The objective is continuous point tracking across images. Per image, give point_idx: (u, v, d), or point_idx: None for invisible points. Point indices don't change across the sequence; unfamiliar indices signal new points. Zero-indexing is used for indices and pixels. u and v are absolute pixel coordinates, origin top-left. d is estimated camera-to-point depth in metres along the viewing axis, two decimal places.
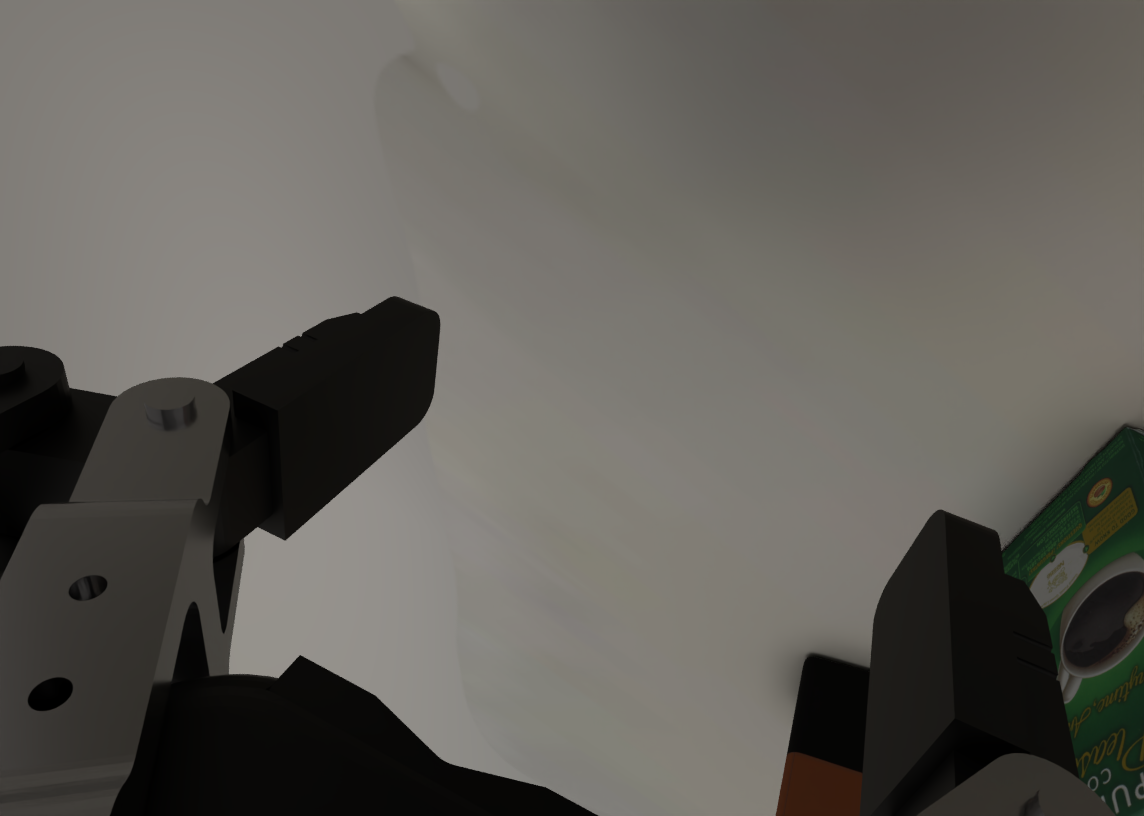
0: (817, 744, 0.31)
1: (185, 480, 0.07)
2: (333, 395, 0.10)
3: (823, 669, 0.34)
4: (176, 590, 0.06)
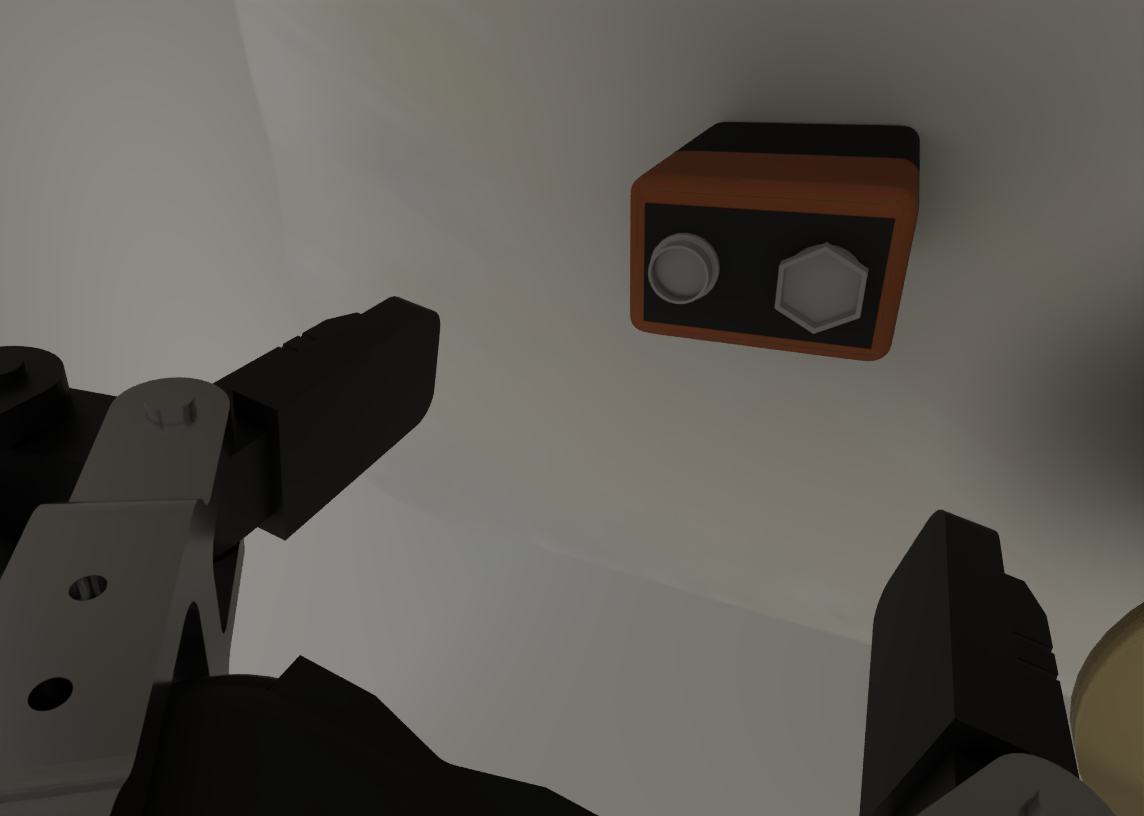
0: (709, 146, 0.21)
1: (185, 480, 0.07)
2: (333, 395, 0.10)
3: (731, 124, 0.24)
4: (174, 591, 0.06)
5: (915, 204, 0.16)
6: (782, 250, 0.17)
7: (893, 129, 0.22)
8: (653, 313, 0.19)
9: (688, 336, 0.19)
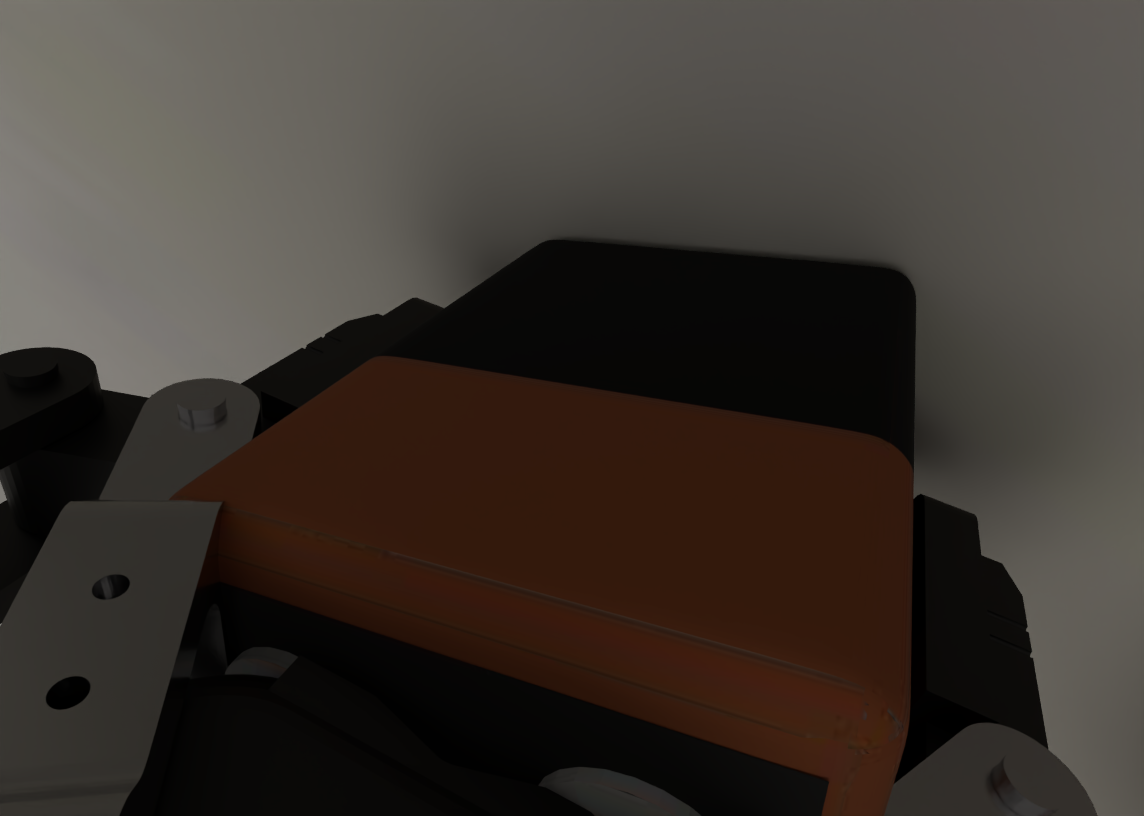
0: (455, 341, 0.09)
1: None
2: None
3: (562, 249, 0.13)
4: (196, 592, 0.06)
5: (895, 738, 0.05)
6: (516, 752, 0.06)
7: (862, 282, 0.11)
8: None
9: None
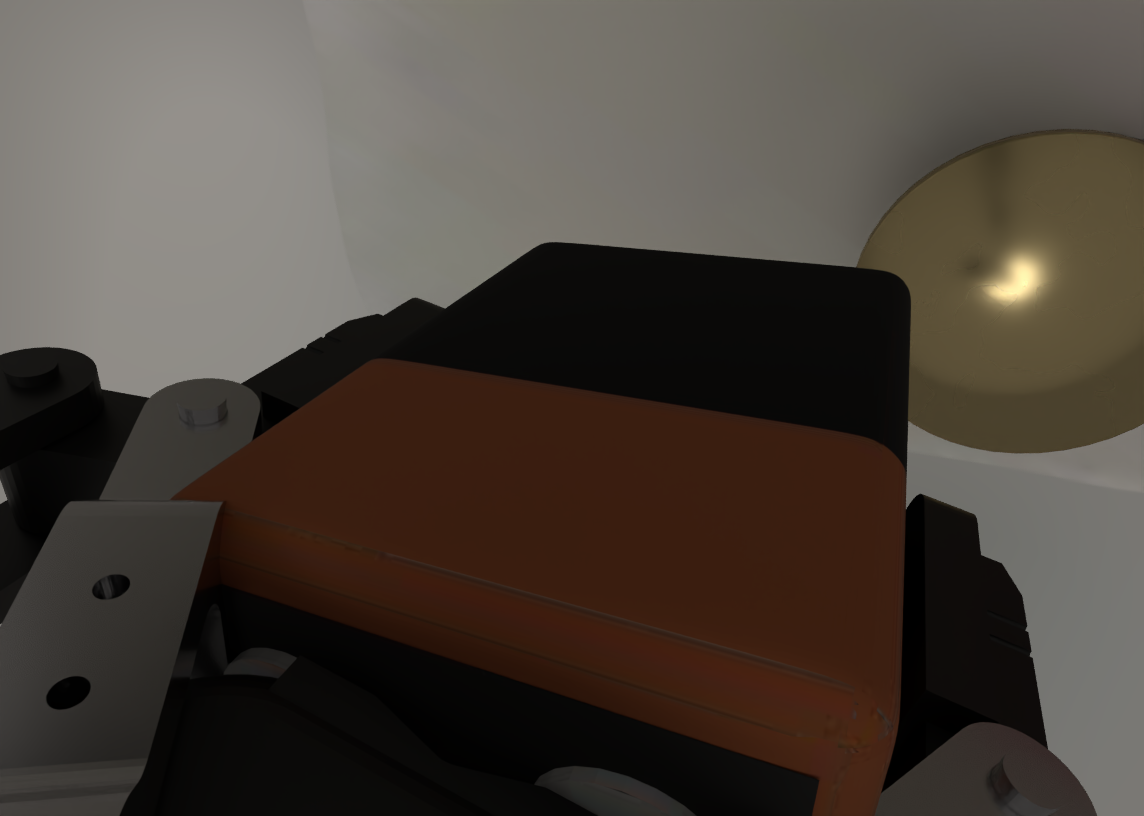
0: (453, 343, 0.10)
1: None
2: None
3: (560, 251, 0.13)
4: (195, 593, 0.06)
5: (886, 737, 0.05)
6: (513, 751, 0.06)
7: (857, 285, 0.11)
8: None
9: None
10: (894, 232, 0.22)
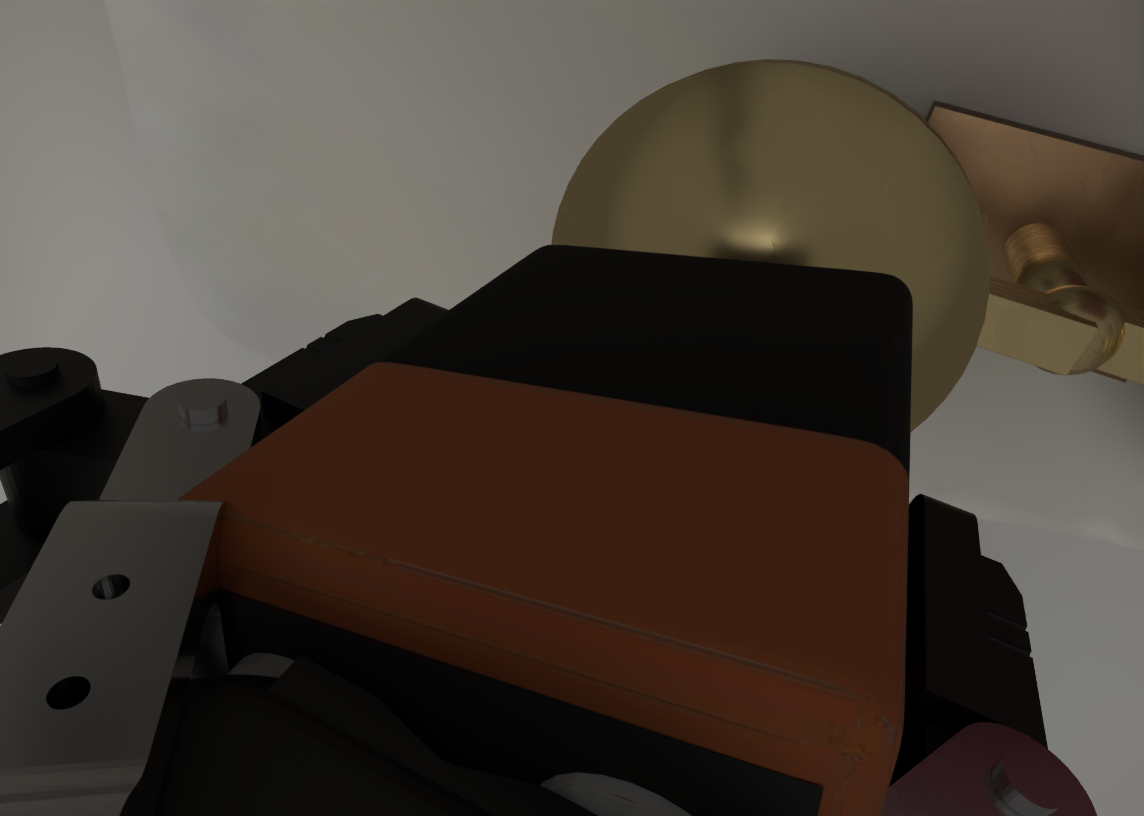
0: (455, 346, 0.10)
1: None
2: None
3: (561, 254, 0.13)
4: (195, 592, 0.06)
5: (890, 744, 0.05)
6: (515, 757, 0.06)
7: (859, 288, 0.11)
8: None
9: None
10: (584, 194, 0.17)
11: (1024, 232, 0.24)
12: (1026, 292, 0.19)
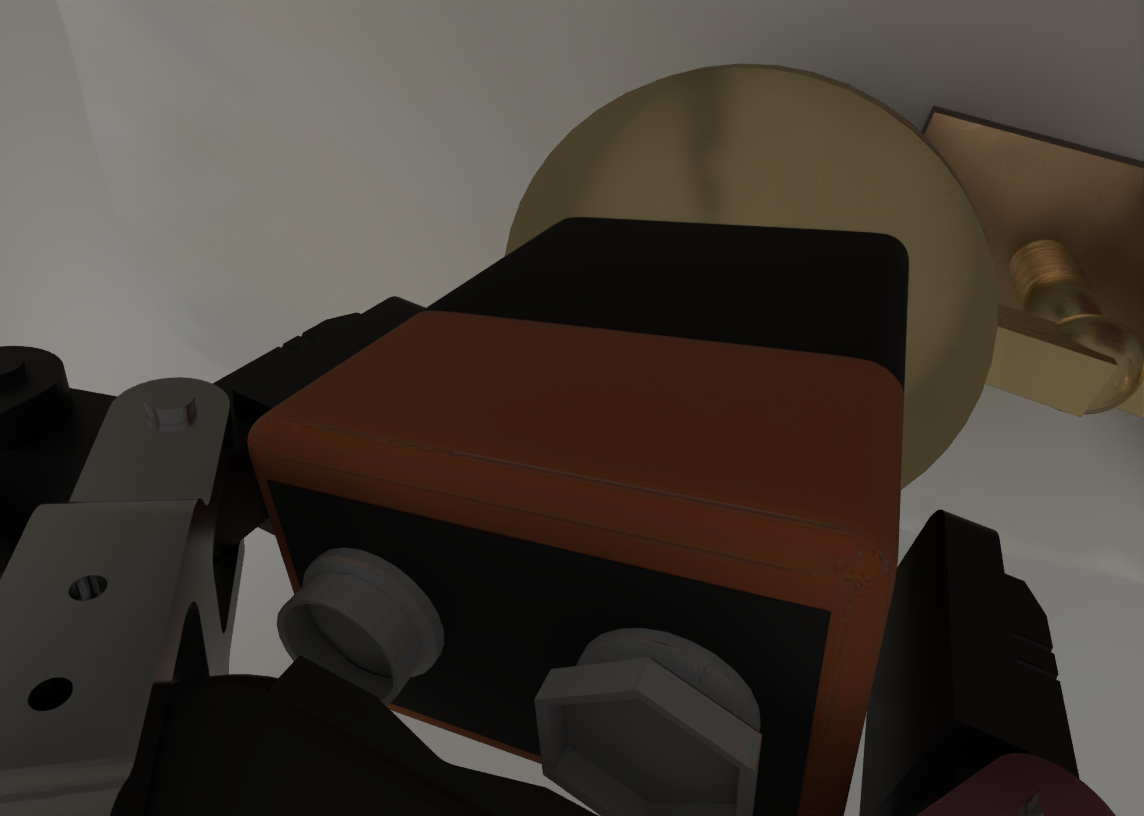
0: (492, 297, 0.11)
1: (185, 480, 0.07)
2: None
3: (582, 224, 0.14)
4: (174, 590, 0.06)
5: (884, 574, 0.06)
6: (564, 622, 0.07)
7: (859, 245, 0.12)
8: None
9: None
10: (537, 215, 0.15)
11: (1030, 250, 0.22)
12: (1036, 322, 0.17)
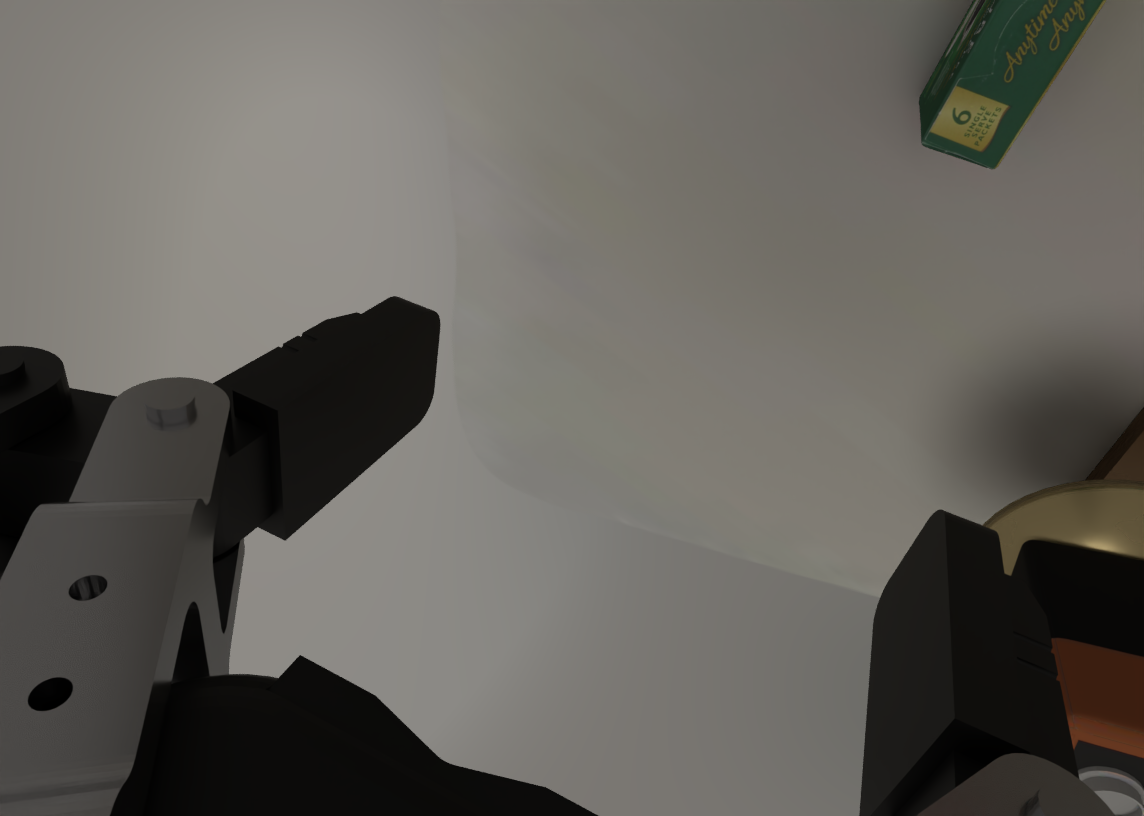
0: (1083, 629, 0.23)
1: (185, 480, 0.07)
2: (333, 395, 0.10)
3: (1053, 551, 0.27)
4: (175, 590, 0.06)
5: None
6: None
7: None
8: None
9: None
10: (1008, 531, 0.28)
11: None
12: None
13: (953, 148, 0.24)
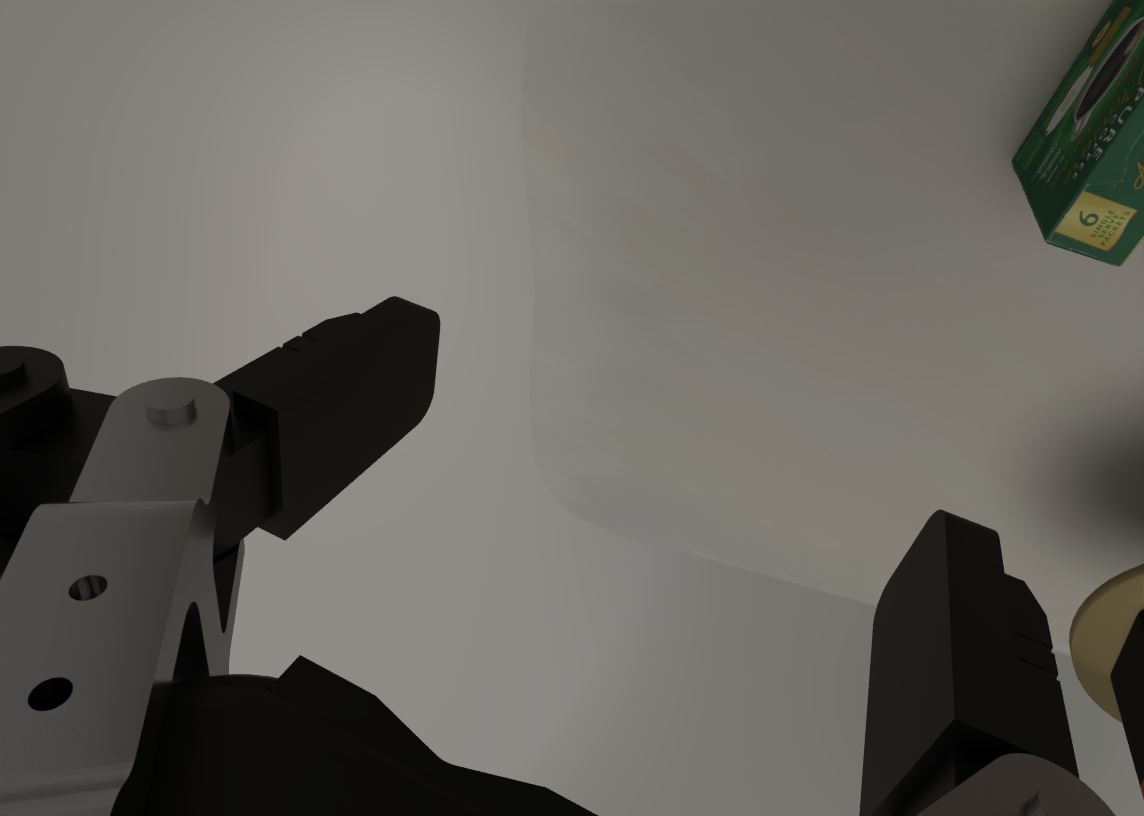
0: None
1: (185, 480, 0.07)
2: (333, 395, 0.10)
3: None
4: (174, 590, 0.06)
5: None
6: None
7: None
8: None
9: None
10: (1123, 599, 0.29)
11: None
12: None
13: (1079, 247, 0.25)
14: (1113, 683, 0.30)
